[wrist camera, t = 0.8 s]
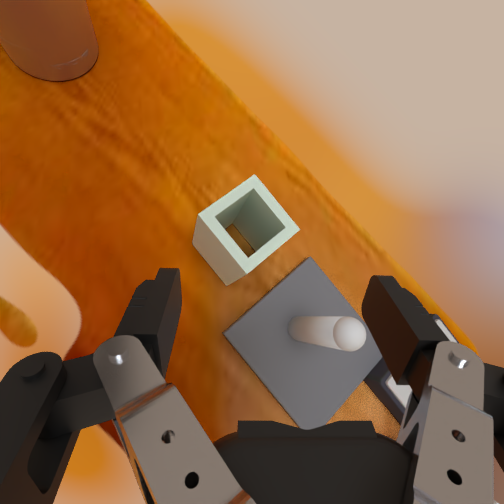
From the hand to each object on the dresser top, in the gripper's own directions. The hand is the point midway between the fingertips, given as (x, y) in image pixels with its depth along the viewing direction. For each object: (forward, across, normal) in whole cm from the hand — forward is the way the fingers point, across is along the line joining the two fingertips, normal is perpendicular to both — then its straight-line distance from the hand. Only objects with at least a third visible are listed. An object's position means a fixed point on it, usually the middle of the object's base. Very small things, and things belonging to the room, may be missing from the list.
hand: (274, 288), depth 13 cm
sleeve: (+19, +2, +10) cm, 21 cm away
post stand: (+13, -7, +18) cm, 23 cm away
